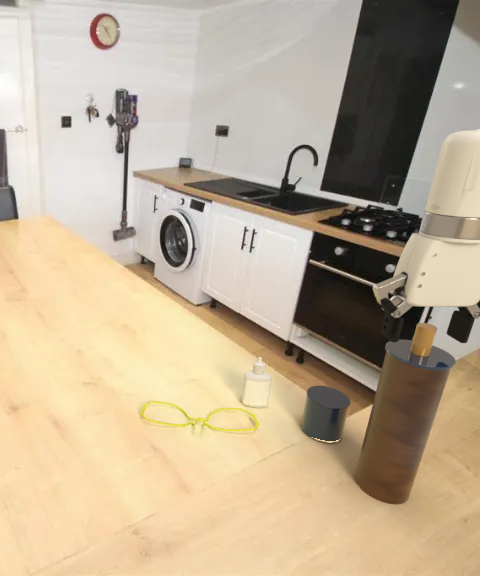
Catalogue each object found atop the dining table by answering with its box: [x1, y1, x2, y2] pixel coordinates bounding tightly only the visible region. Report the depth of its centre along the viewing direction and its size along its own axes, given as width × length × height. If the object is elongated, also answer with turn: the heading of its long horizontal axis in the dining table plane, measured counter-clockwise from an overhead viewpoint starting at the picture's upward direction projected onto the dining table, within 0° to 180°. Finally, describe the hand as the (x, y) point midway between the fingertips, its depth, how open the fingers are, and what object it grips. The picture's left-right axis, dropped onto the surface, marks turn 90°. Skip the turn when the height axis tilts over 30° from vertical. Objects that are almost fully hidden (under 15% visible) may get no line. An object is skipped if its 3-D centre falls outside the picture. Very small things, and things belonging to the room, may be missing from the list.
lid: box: [384, 322, 457, 370], centre depth 62 cm, size 9×9×5 cm
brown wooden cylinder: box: [354, 351, 451, 505], centre depth 67 cm, size 8×8×26 cm
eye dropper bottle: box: [240, 356, 272, 409], centre depth 92 cm, size 4×6×12 cm
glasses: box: [139, 400, 260, 432], centre depth 88 cm, size 25×10×5 cm, turn 80°
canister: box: [300, 385, 351, 441], centre depth 84 cm, size 8×8×8 cm
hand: (422, 338), depth 62 cm, fingers open, 9 cm apart
